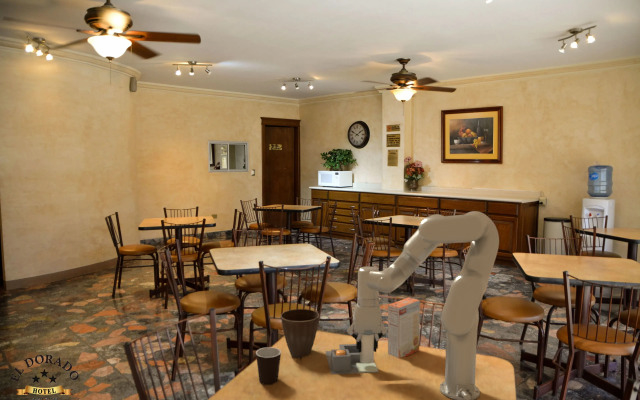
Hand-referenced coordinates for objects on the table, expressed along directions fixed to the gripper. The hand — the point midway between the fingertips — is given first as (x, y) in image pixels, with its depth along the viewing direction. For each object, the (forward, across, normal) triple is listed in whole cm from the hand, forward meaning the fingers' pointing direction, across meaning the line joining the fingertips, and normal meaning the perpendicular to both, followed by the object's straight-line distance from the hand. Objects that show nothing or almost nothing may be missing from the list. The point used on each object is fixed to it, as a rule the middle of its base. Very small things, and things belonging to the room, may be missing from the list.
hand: (366, 350), depth 168 cm
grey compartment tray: (+8, +5, -6) cm, 11 cm away
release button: (+5, +9, -1) cm, 11 cm away
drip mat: (+8, 0, 0) cm, 8 cm away
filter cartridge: (+4, 0, 0) cm, 4 cm away
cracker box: (+8, -18, -14) cm, 24 cm away
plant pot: (+8, +23, -16) cm, 29 cm away
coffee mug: (+8, +35, +4) cm, 36 cm away
